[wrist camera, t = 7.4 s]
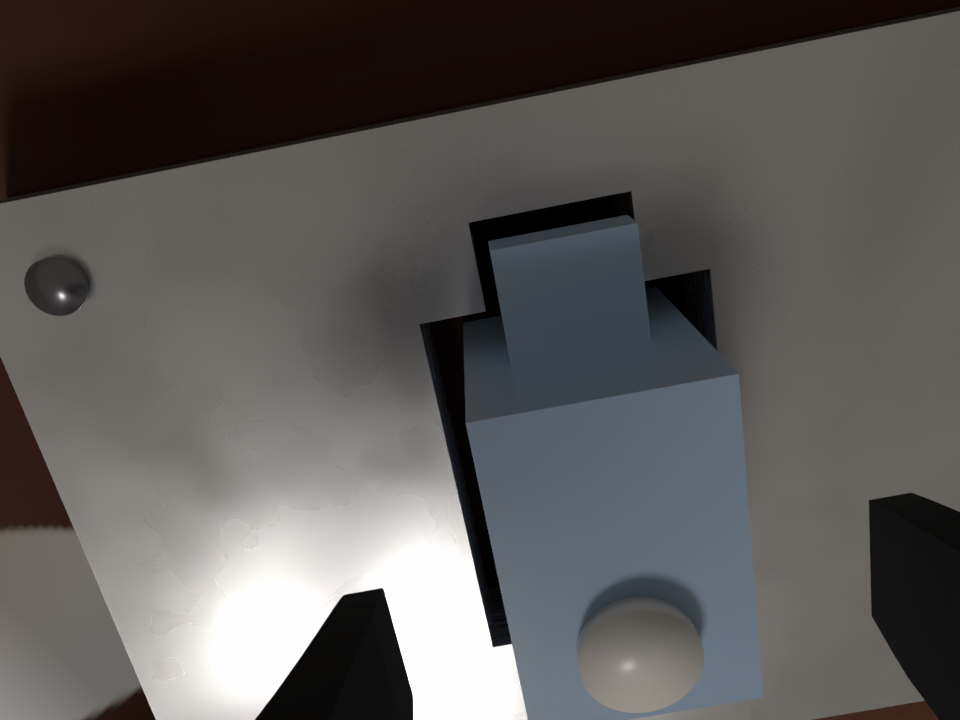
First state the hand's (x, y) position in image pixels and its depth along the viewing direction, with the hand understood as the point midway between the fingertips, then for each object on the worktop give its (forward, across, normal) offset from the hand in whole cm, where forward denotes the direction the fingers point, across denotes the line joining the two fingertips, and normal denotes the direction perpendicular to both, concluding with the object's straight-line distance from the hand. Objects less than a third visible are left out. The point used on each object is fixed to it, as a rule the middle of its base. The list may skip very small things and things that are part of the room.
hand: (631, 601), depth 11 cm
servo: (+6, 0, 0) cm, 6 cm away
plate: (+6, 0, 0) cm, 6 cm away
